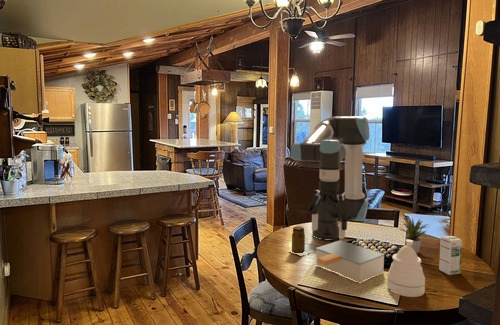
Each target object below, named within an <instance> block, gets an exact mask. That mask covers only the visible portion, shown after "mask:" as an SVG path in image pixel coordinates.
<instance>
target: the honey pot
mask: <svg viewBox="0 0 500 325" xmlns="http://www.w3.org/2000/svg"><path fill="white" fill-rule="evenodd" d="M406 244H407V245H406ZM412 244H413V240H405V245H402V247H401V248H399V250H398V251H397V253H394V254H393V255H391V258H392V260H393V261H392V262H391V264H390V266H389V267H390V268H389V270H388V271H387V282H386V283H387V284H386V286H388V288H389V289H391V290H392V291H394V292H396V293H399V294H400V295H399V296H403V297H408V298H417V297H421V296H423V295H424V294H425V289H426V277H425V275H424V271H423V267H422V265H421V263H422V259H421V258H420V257H419V256H418V255H417V254H418V253H416V252H415V251H414V249H413V248H412V247H411V245H412ZM388 288H387V289H388ZM389 289H388V290H389ZM392 291H391V292H392ZM396 293H395V294H396Z"/></svg>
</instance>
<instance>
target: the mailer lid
mask: <svg viewBox="0 0 500 325" xmlns="http://www.w3.org/2000/svg"><path fill="white" fill-rule="evenodd" d="M315 250H316V251H317V250H319V251H322V252H325V253H327V254H329V255H326V256H323V257H320V258H318V263H320V264H322V265H325V266H326V265H329V264H332V263H335V262H337V261H340V259H344V260H347V261H350V262H352V263H355V264H358V265H362V264H364V263H367V262H370V261H372V260H375V259H377V258H380V257H382V256H384V257H385V254H384V253H383V252H379V251H376V250H372V249H369V248H366V247H363V246H360V245H356V244H353V243H350V242H346V241H344V240H341V239H340V240H335V241H334V242H331V243H326V244H324V245H321V246H318V247H315Z"/></svg>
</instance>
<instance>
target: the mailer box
mask: <svg viewBox="0 0 500 325" xmlns="http://www.w3.org/2000/svg"><path fill="white" fill-rule="evenodd" d="M326 255H329V254H327V253H325V252H322V251H319V250H316V256H315V257H316V259H315V262H316V264H315V265H319V266H322V267H325V268H327V269H330V270H332V271H335V272H338V273H340V274H342V275H344V276H346V277H349V278H351V279H353V280H355V281H358V282H362V281H363V280H365V279H368V278H370V277H372V276H375V275H377V274H380V273H382V272H383V273H384V267H385V266H384V265H385V255H384V256H382V257H380V258H377V259H375V260H372V261H370V262H367V263H364V264H362V265H358V264H355V263H352V262H350V261H347V260H344V259H340V261H337V262H335V263H332V264H329V265H326V266H325V265H322V264H320V263H318V258H320V257H323V256H326Z"/></svg>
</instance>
